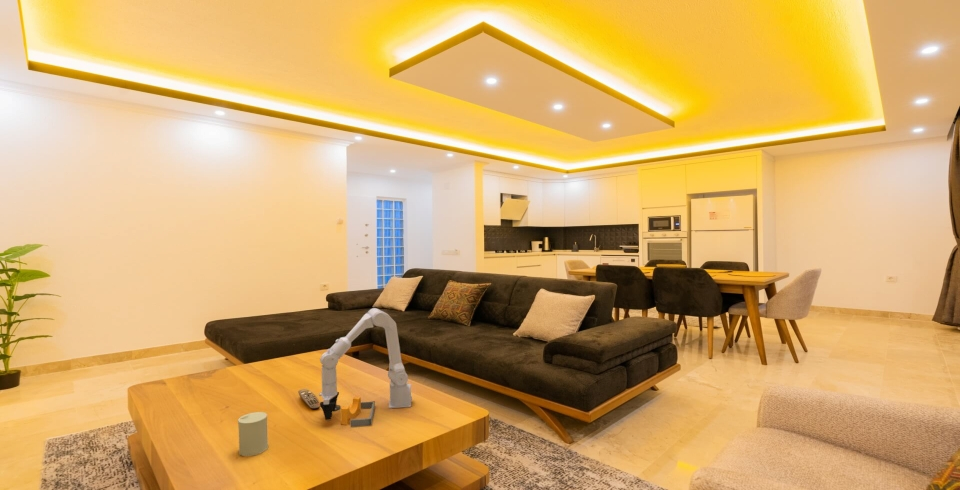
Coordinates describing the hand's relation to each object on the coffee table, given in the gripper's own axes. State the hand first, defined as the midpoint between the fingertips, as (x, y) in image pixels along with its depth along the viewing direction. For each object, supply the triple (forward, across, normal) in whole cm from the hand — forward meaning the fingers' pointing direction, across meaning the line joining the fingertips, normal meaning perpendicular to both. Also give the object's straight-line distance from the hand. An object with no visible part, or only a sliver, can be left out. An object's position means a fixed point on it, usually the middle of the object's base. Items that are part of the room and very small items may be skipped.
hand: (330, 415), depth 177 cm
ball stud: (+2, -10, 0) cm, 10 cm away
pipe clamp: (+2, 0, +8) cm, 8 cm away
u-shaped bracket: (+2, 0, +13) cm, 13 cm away
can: (+2, +21, -22) cm, 30 cm away
